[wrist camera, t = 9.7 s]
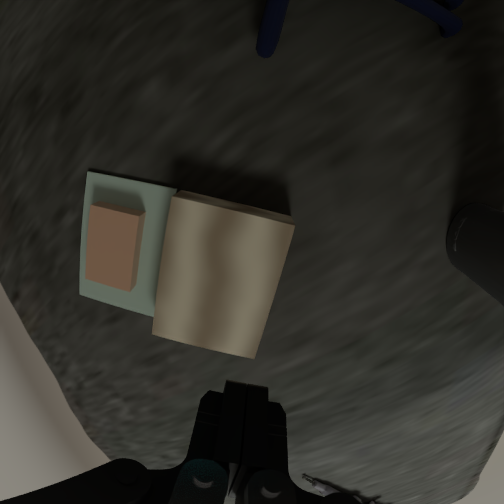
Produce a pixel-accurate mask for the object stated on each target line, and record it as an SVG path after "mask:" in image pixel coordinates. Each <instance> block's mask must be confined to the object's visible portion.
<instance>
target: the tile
mask: <svg viewBox="0 0 504 504" xmlns="http://www.w3.org/2000/svg"><path fill="white" fill-rule="evenodd" d="M145 215H146V212H144V211H140V210H136V209H132V208H127V207H123V206H119V205H115V204H110V203H106V202H102V201H98V202H96V203H93V204H91V205H90V213H89V223H88V235H87V250H86V270H85V279H88V280H91V281H94V282H98V283H101V284H104V285H107V286H111V287H114V288H117V289H121V290H124V291H127V292H131V290H132V289H133V288H134V287H135V285H136V283H137V274H138V266H139V257H140V250H141V242H142V235H143V228H144V222H145Z"/></svg>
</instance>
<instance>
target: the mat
mask: <svg viewBox="0 0 504 504" xmlns="http://www.w3.org/2000/svg"><path fill="white" fill-rule="evenodd" d="M176 192H177V189H174V188H170V187H165V186H160V185H156V184H151V183H146V182H141V181H136V180H131V179H127V178H122V177H116V176H111V175H106V174H101V173H96V172H90V171H88V173H87V180H86V189H85V198H84V208H83V219H82V233H81V251H80V295H83V296H86V297H89V298H92V299H95V300H98V301H102V302H105V303H108V304H111V305H115V306H118V307H121V308H125V309H128V310H131V311H135V312H138V313H142V314H145V315H149V316H152V317H154V311H155V303H156V294H157V287H158V279H159V272H160V265H161V258H162V251H163V245H164V239H165V232H166V226H167V221H168V215H169V209H170V204H171V198H172V196H173V195H175V194H176ZM98 201H102V202H106V203H110V204H115V205H119V206H123V207H127V208H132V209H136V210H140V211H144V212H146V215H145V222H144V228H143V235H142V242H141V250H140V257H139V266H138V274H137V283H136V285H135V287H134V288H133V289H132V290H131V292H127V291H124V290H121V289H117V288H114V287H111V286H107V285H104V284H101V283H98V282H94V281H91V280H88V279H85V270H86V250H87V235H88V223H89V213H90V205H91V204H93V203H96V202H98Z"/></svg>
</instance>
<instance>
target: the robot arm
mask: <svg viewBox="0 0 504 504" xmlns="http://www.w3.org/2000/svg"><path fill="white" fill-rule="evenodd" d="M446 245H447V253H448V257H449V259H450V261H451V263H452V264H453V265H454V266H455V267H456V268H457V269H458V270H460V271H461V272H462V273H464V274H465V275H466V276H467V277H469V278H470V279H471V280H472V281H474V282H475V283H476V284H477V285H479V286H480V287H481V288H482V289H484V290H485V291H486V292H487V293H488V294H490V295H491V296H492V297H493V298H495V299H496V300H497V301H498V302H499V303H501V304H502V305H503V306H504V212H502V211H500V210H497V209H495V208H492V207H490V206H487V205H484V204H481V203H472V204H470V205H467V206H465V207H464V208H463V209H461V210H460V211H459V212H458V214H457V215H456V216H455V218H454V219H453V221H452V223H451V225H450V228H449V231H448V235H447V242H446ZM246 386H247V387H246ZM286 436H287V428H286V413H285V412H284V410H283V408H282V406H281V404H280V403H276V402H269V401H268V387H264V386H258V385H253V384H246V383H242V382H237V381H232V380H226V383H225V387H224V391H223V393H220V392H216V391H211V390H209V391H208V392H207V393H206V394H205V395H204V396H203V397H202V398H201V400H200V404H199V408H198V412H197V416H196V421H195V425H194V429H193V433H192V437H191V441H190V445H189V449H188V453H187V456H186V458H185V460H184V461H183V462H182V463H181V464H180V465H178V466H176V467H174V468H171V469H163V470H149V469H147V468H146V467H145V466H144V465H142V464H141V463H139V462H137V461H135V460H132V459H127V458H120V459H115V460H113V461H110V462H108V463H106V464H104V465H101V466H99V467H96V468H94V469H92V470H89V471H87V472H84V473H82V474H79V475H77V476H74V477H72V478H69V479H66V480H64V481H61V482H59V483H56V484H53V485H50V486H47V487H44V488H41V489H38V490H35V491H32V492H29V493H26V494H23V495H20V496H17V497H13V498H10V499H6V500H3V501H0V504H224V500H225V497H226V496H227V493H228V491H229V493H228V497H230V498H236V499H235V504H361V503H360V502H359V501H358V500H357V499H356V498H354V497H353V496H351V495H349V494H347V493H343V492H335V493H331V494H328V495H327V496H325V497H323V496H319V495H316V494H313V493H310V492H307V491H304V490H302V489H301V488H299V487H298V486H297V485H296V484H295V483H294V482H293V481H292V480H291V478H290V476H289V472H288V450H287V437H286Z"/></svg>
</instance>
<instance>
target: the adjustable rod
mask: <svg viewBox="0 0 504 504" xmlns="http://www.w3.org/2000/svg"><path fill="white" fill-rule="evenodd" d="M302 479H306V480H307V481H309V482H310V483H312V486H313V487H315V488H316V489H318V490H319V492H320V493H322V494H324V495H325V496H327V495H328V494H331V493H335V492H339V491H338V490H336V489H334V488H332V487H331V486H329V485H327V484H325V485H324V484H322V483H320V482H318V481H316V480H314V481H311V480H310V479H308V478H306V476H303V477H302ZM353 497H354V498H356V499H357V500H358V501H359V502H360V501H362V500H361V499H359V498H358V497H357V496H356V495H354V496H353ZM360 503H361V502H360ZM361 504H362V503H361ZM369 504H375V502H374V501H371V502H370V503H369Z"/></svg>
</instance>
